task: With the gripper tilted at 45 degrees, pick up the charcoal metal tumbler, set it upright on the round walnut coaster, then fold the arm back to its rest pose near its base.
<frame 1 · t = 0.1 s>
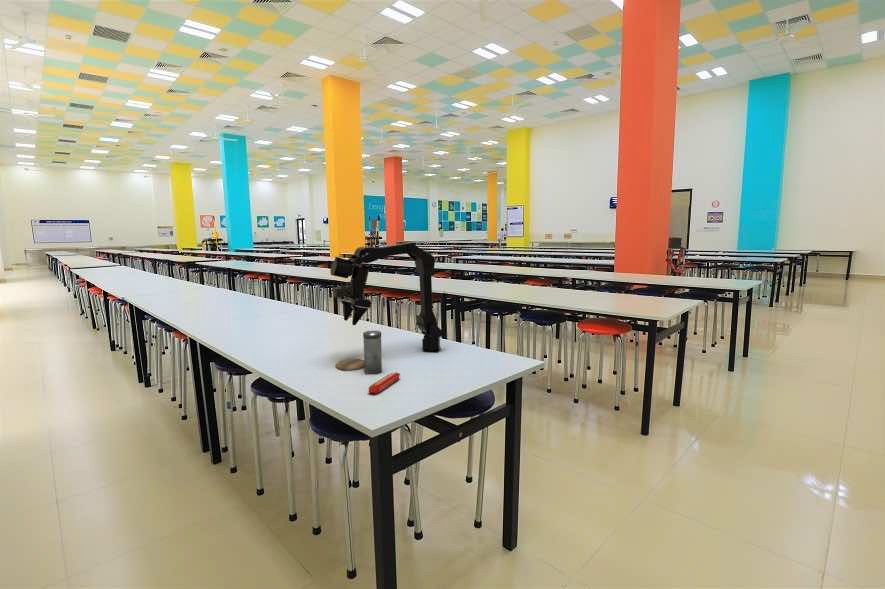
hand: (349, 322, 156), 15 cm above the table, tool pointing down, fingers open, 9 cm apart
tumbler: (373, 371, 149), on the table
coaster: (351, 365, 155), on the table
red rounded bar: (384, 387, 135), on the table
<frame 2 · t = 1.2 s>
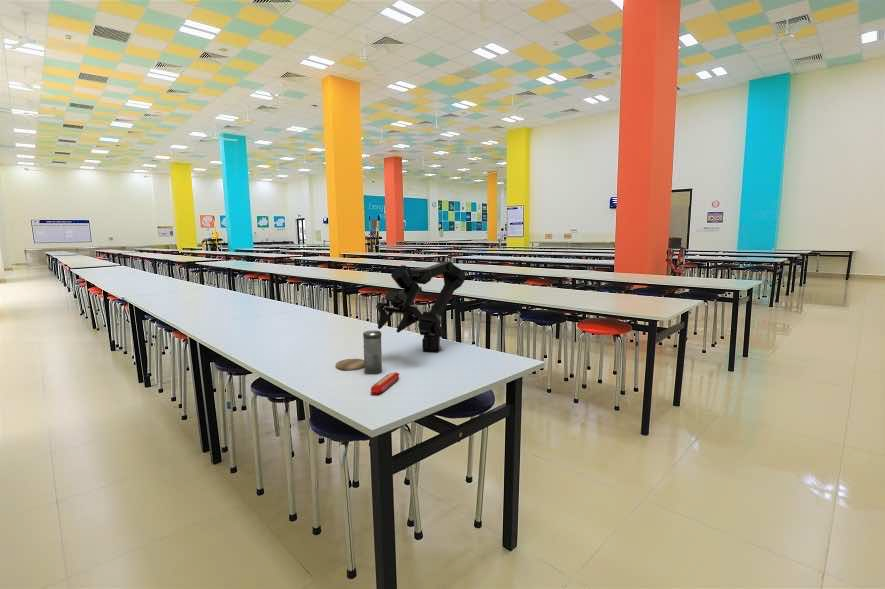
hand: (387, 330, 153), 13 cm above the table, tool tilted 45°, fingers open, 9 cm apart
nothing on the table moved.
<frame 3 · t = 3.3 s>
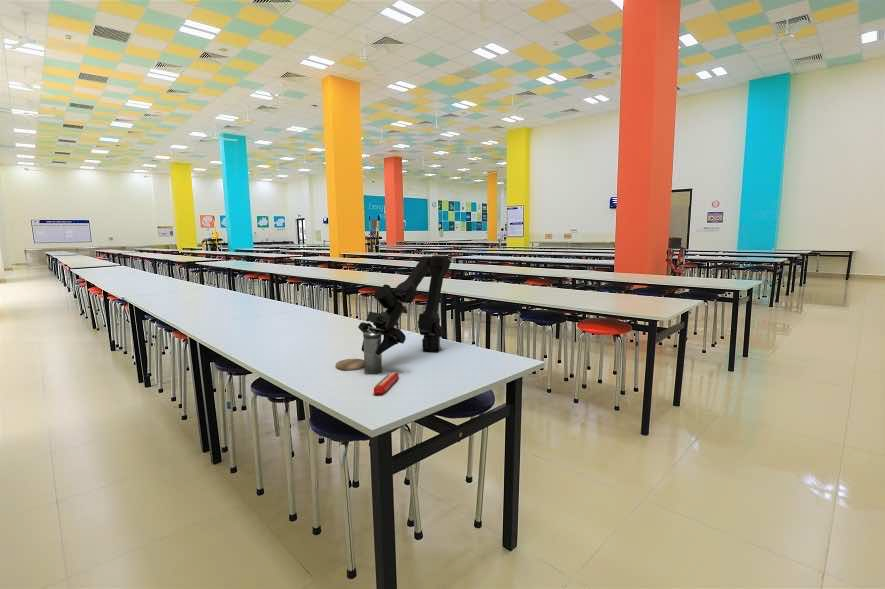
hand: (369, 352, 147), 7 cm above the table, tool tilted 45°, fingers open, 7 cm apart
tumbler: (373, 371, 149), on the table, touching gripper
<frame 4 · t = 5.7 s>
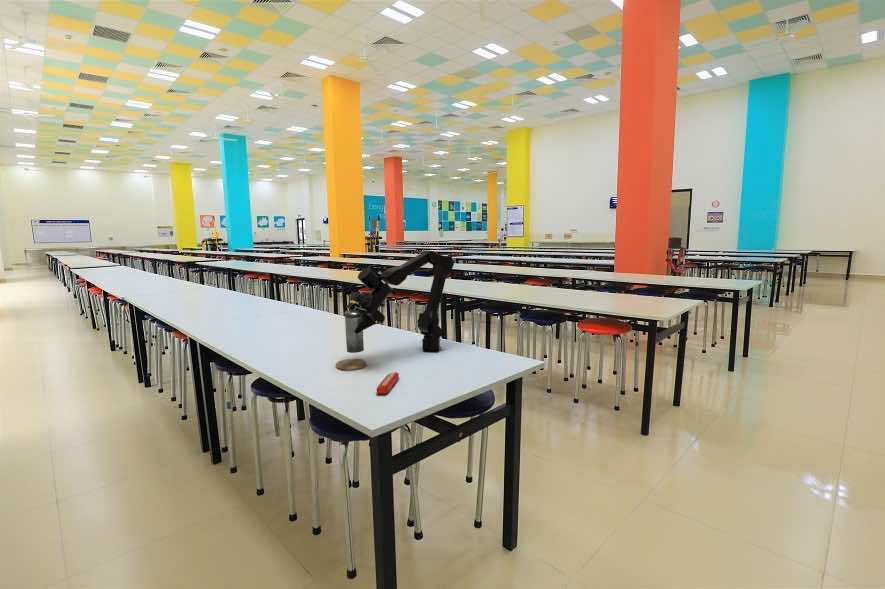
hand: (351, 331, 151), 14 cm above the table, tool tilted 45°, fingers closed on tumbler, 6 cm apart
tumbler: (355, 350, 153), point 6 cm above the table, touching gripper
when the fingers open (9 cm above the table, at t = 7.7 s): tumbler drops 1 cm, resting on coaster.
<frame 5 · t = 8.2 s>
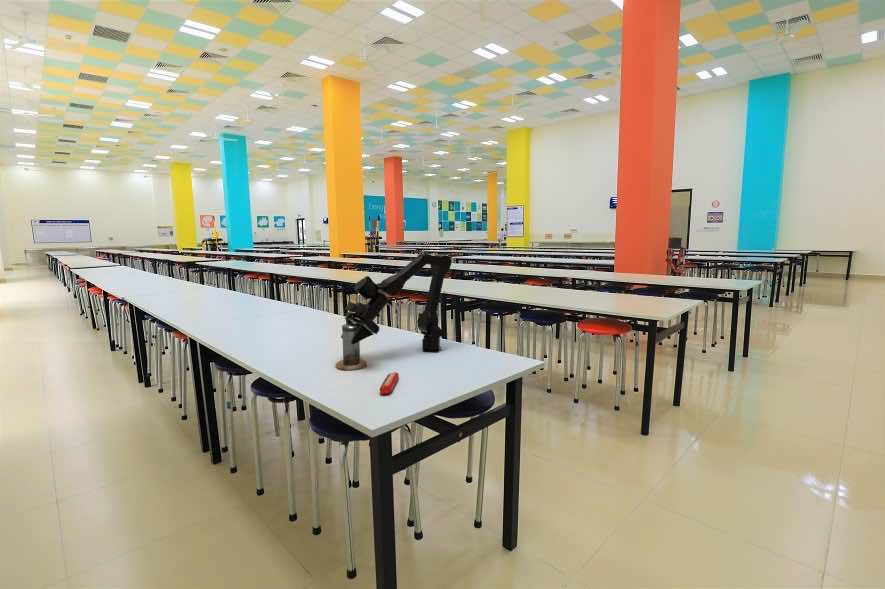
hand: (346, 340, 153), 10 cm above the table, tool tilted 45°, fingers open, 9 cm apart
tumbler: (351, 362, 155), point 1 cm above the table, touching coaster
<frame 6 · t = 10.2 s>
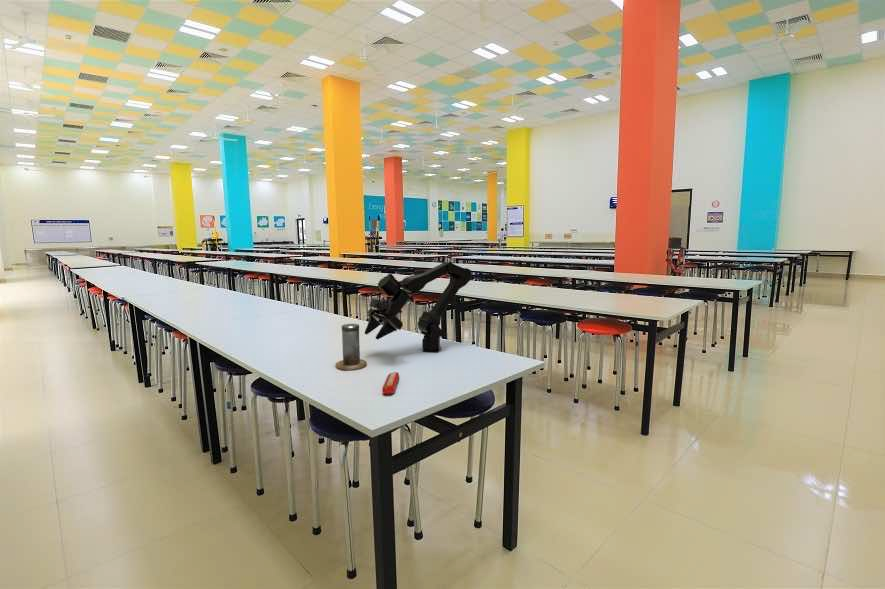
hand: (370, 336, 158), 10 cm above the table, tool tilted 45°, fingers open, 9 cm apart
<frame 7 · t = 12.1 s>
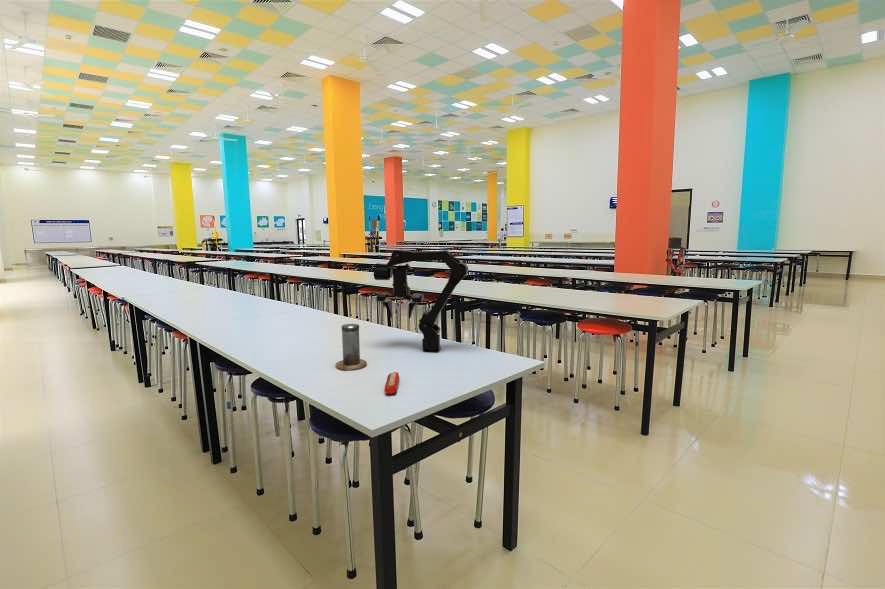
hand: (400, 318, 176), 13 cm above the table, tool pointing down, fingers open, 7 cm apart
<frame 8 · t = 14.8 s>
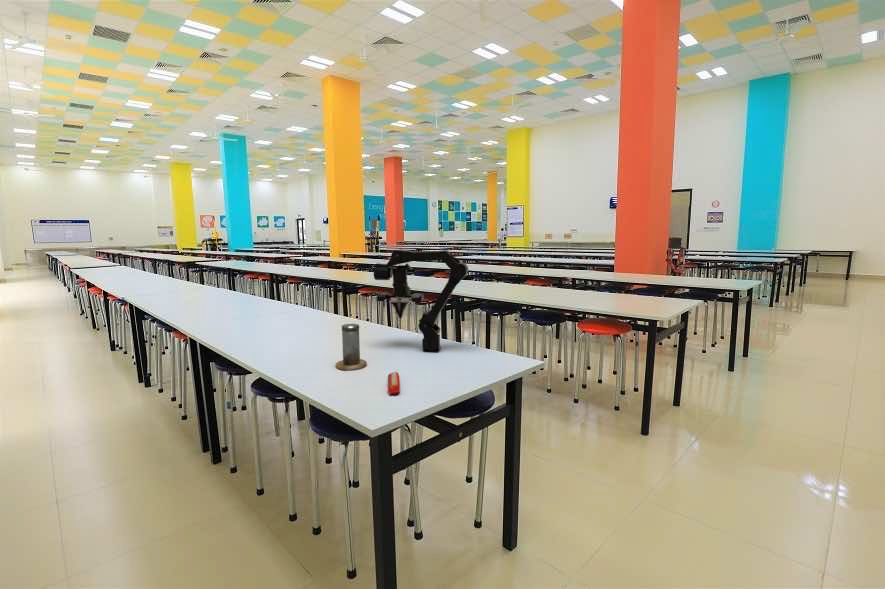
hand: (400, 318, 176), 13 cm above the table, tool pointing down, fingers closed
at the end: tumbler 0.1 cm off-centre on the coaster, point 1.0 cm above the coaster's base; tumbler tilted 0°; the gripper is holding nothing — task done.
